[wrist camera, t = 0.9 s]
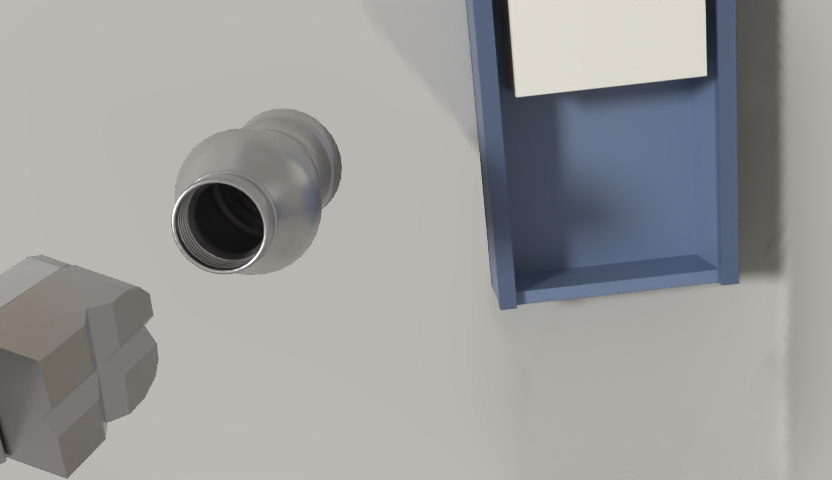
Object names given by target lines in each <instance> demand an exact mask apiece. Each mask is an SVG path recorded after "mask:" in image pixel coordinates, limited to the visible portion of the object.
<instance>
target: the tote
mask: <svg viewBox="0 0 832 480" xmlns="http://www.w3.org/2000/svg"><path fill="white" fill-rule="evenodd" d="M705 6H706V54H707V76H701V77H692V78H683V79H675V80H666V81H657V82H648V83H639V84H630V85H621V86H613V87H604V88H595V89H586V90H577V91H568V92H559V93H550V94H542V95H533V96H524V97H515V92H514V91H509V90H508V89H507V77H506V65H505V52H504V40H503V27H502V15H501V2H500V0H466V7H467V18H468V29H469V40H470V51H471V62H472V73H473V85H474V96H475V107H476V118H477V129H478V140H479V151H480V162H481V172H482V184H483V195H484V206H485V217H486V227H487V238H488V250H489V261H490V272H491V283H492V287H493V290H494V292H495V294H496V297H497V299H498V301H499V308H500V310H506V309H515V308H517V305H521V304H530V303H539V302H548V301H556V300H565V299H574V298H583V297H592V296H601V295H610V294H619V293H628V292H637V291H646V290H655V289H664V288H673V287H682V286H690V285H699V284H708V283H717V282H718V283H720V284H721V285H729V284H738V283H739V218H738V134H737V50H736V0H705Z"/></svg>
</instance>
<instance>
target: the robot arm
mask: <svg viewBox="0 0 832 480" xmlns="http://www.w3.org/2000/svg"><path fill="white" fill-rule="evenodd" d="M152 316H153V311H152V305H151V299H150V294H149V293H147V292H146V291H144V290H143V289H141V288H140V287H138V286H135V285H132V284H129V283H126V282H123V281H120V280H117V279H114V278H111V277H108V276H105V275H102V274H99V273H96V272H93V271H91V270H87V269H85V268H82V267H79V266H76V265H70V264H67V263H64V262H61V261H58V260H56V259H53V258H50V257H47V256H44V255H39V256H31V257H27V258H25V259H24V260H22V261H21V262H19V263H18V264H16V265H14V266H13V267H11V268H10V269H8V270H7V271H5V272H4V273H2V274H1V275H0V464H2V463H4V462H5V461H6V457H8V458H11V459H13V460H16V461H19V462H22V463H25V464H28V465H30V466H33V467H36V468H39V469H41V470H44V471H47V472H50V473H53V474H56V475H58V476H61V477H64V478H68V477H69V476H70V475H71V474H72V473H73V472H74V471H75V470H76V469H77V468H78V467H79V466H80V465H81V464H82V463H83V462H84V461H85V460H86V459H87V458H88V457H89V456H90V455H91V454H92V453H93V451H95V450H96V448H97V447H98V446H99V445H100V444H101V443H102V442H103V441H104V440H105V439H106V429H107V422H110V421H113V420H115V419H118V418H120V417H123V416H126V415H128V414H130V413H131V412H132V411H133V410H134V409H135V408H136V407H137V406H138V405H139V403H140V402H141V401H142V400H143V399H144V398H145V396H146V394H147V392H148V390H149V388H150V386H151V384H152V382H153V380H154V378H155V376H156V370H157V364H158V351H157V343H156V342H155V340H154V339H153V337H152V336H151V335H150V333H149V332H148V330H147V329H146V327H145V325H146V324H147V322H148V321H149V320H150V319H151V317H152Z"/></svg>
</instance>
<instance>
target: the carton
mask: <svg viewBox="0 0 832 480" xmlns="http://www.w3.org/2000/svg"><path fill="white" fill-rule="evenodd" d="M500 2H501V15H502V27H503V40H504V52H505V65H506V77H507V89H508V90H509V91H514V92H515V97H524V96H533V95H542V94H550V93H559V92H568V91H577V90H586V89H595V88H604V87H613V86H621V85H630V84H639V83H648V82H657V81H666V80H675V79H683V78H692V77H701V76H707V54H706V6H705V0H500Z"/></svg>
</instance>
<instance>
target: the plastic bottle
mask: <svg viewBox="0 0 832 480" xmlns="http://www.w3.org/2000/svg"><path fill="white" fill-rule="evenodd" d="M341 170H342V166H341V157H340V153H339V151H338V147H337V145H336V143H335V141H334V139H333V137H332V135H331V134H330V133H329V132H328V130H327V129H326V128H325V127H324V126H323V125H322V124H321V123H320V122H318V121H317V120H316V119H314V118H312V117H311V116H309V115H307V114H305V113H302V112H299V111H297V110H291V109H273V110H269V111H266V112H263V113H261V114H259V115H257V116H255V117H253V118H252V119H251V120H250V121H249V122H247V123H246V124H245V125H244V127H243V128H242V129H233V130H227V131H224V132H220V133H216V134H214V135H212V136H210V137H208V138H206V139H205V140H203V141H202V142H201V143H199V144H198V145H197V146H196V147H195V148H193V150H192V151H191V152H190V153H189V155H188V156H187V157H186V159H185V160H184V162H183V164H182V166H181V168H180V170H179V173H178V177H177V181H176V185H175V206H174V208H173V212H172V216H171V227H172V233H173V237H174V239H175V242H176V244H177V246H178V248H179V249H180V251H181V253H182V254H183V255H184V256H185V257H186V258H187V259H188V260H189V261H190V262H191V263H193V264H194V265H195V266H197V267H199V268H201V269H203V270H205V271H208V272H211V273H216V274H232V273H239V274H246V275H253V274H266V273H270V272H274V271H278V270H280V269H282V268H284V267H286V266H288V265H290V264H292V263H293V262H294V261H296V260H297V259H298V258H299V257H301V256H302V255H303V253H304V252H305V251H306V250H307V249H308V248H309V246H310V245H311V243H312V241H313V239H314V237H315V236H316V234H317V230H318V227H319V223H320V219H321V209H323V208H324V207H325V206H326V205H327V204H328V203H329V202H330V201H331V199H332V198H333V197H334V195H335V193H336V191H337V189H338V186H339V183H340V179H341Z"/></svg>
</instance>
